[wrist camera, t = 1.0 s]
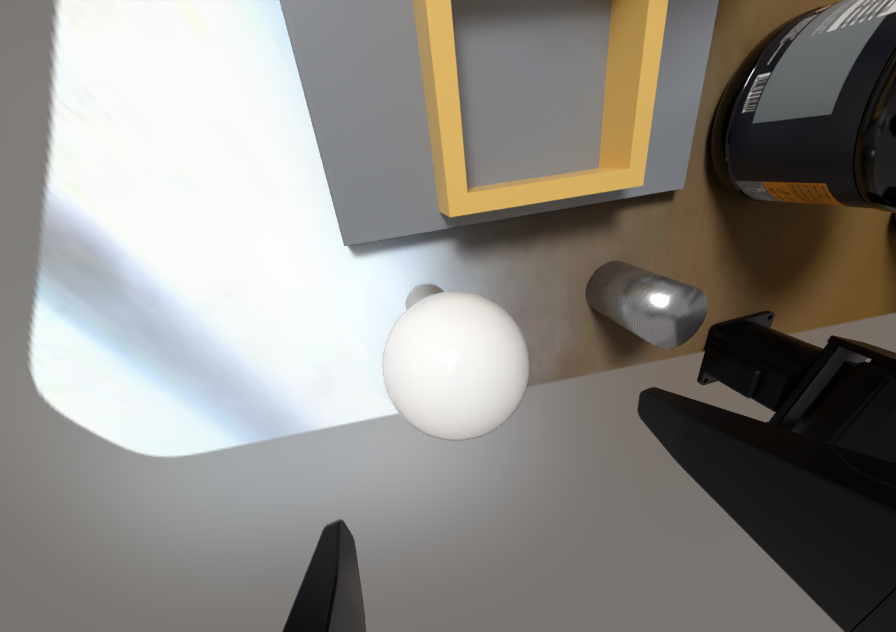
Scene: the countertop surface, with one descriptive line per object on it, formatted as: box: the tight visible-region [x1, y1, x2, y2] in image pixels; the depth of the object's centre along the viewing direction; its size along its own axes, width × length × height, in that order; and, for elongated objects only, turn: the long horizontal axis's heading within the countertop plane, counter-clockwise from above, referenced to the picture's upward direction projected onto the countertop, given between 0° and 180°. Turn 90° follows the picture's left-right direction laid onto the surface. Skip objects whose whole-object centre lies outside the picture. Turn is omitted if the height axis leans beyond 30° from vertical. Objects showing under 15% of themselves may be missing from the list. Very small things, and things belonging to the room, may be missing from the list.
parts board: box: [280, 0, 719, 246], centre depth 16 cm, size 22×13×4 cm, turn 97°
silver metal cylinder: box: [586, 261, 708, 349], centre depth 22 cm, size 4×4×6 cm
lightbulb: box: [382, 284, 530, 441], centre depth 16 cm, size 6×6×11 cm
